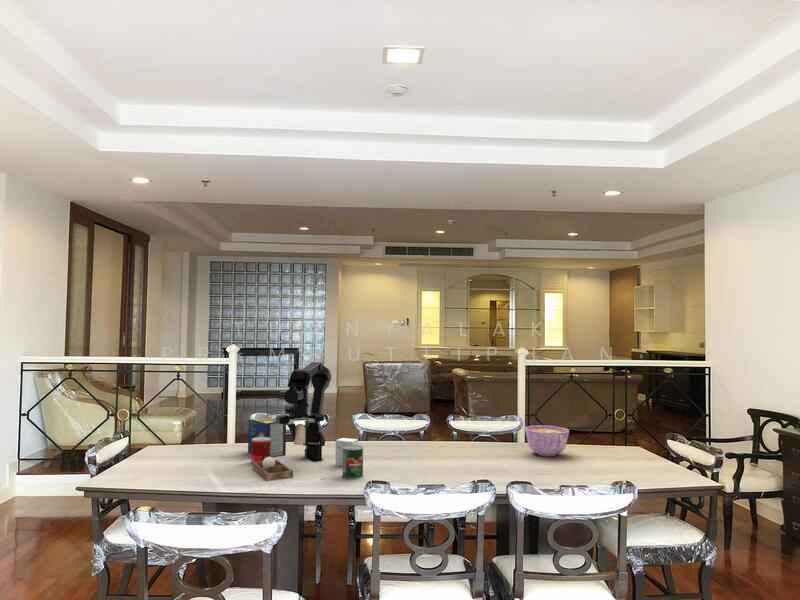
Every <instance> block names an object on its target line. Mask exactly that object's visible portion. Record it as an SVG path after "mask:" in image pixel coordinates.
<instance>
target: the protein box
mask: <svg viewBox="0 0 800 600" xmlns="http://www.w3.org/2000/svg"><path fill="white" fill-rule="evenodd" d="M247 432H248V435H247V439H248V440H247V453H248V454H251V447H252V439H253V438H256V437H269V438H271V457H272V458H275V457H280V456H285V455H286V454H287V450H286V449H287V425H286V424H278V423H276V417H272V416H261V417H254V418H253V417H251V418H248V431H247Z"/></svg>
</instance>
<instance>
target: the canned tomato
mask: <svg viewBox="0 0 800 600" xmlns="http://www.w3.org/2000/svg"><path fill="white" fill-rule="evenodd" d="M363 477H364V446H362V445H359V444H358V445H349V446H344V447H343V466H342V478H345V479H353V480H354V479H355V480H357V479H361V478H363Z"/></svg>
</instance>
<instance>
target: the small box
mask: <svg viewBox="0 0 800 600" xmlns="http://www.w3.org/2000/svg"><path fill="white" fill-rule="evenodd" d="M349 445H358V446H359V438H358V439H357V438H347V437H346V438H345V437H342V438H341V437H340V438H338V439H336V440H335V466H338V467H343V447H344V446H349Z"/></svg>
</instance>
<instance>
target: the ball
mask: <svg viewBox="0 0 800 600" xmlns="http://www.w3.org/2000/svg"><path fill="white" fill-rule="evenodd" d="M275 460H276V459H275V458H274V457H266V458H265V459H264V460H263V463H262V465H263V468H264V467H273V466H275Z"/></svg>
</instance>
